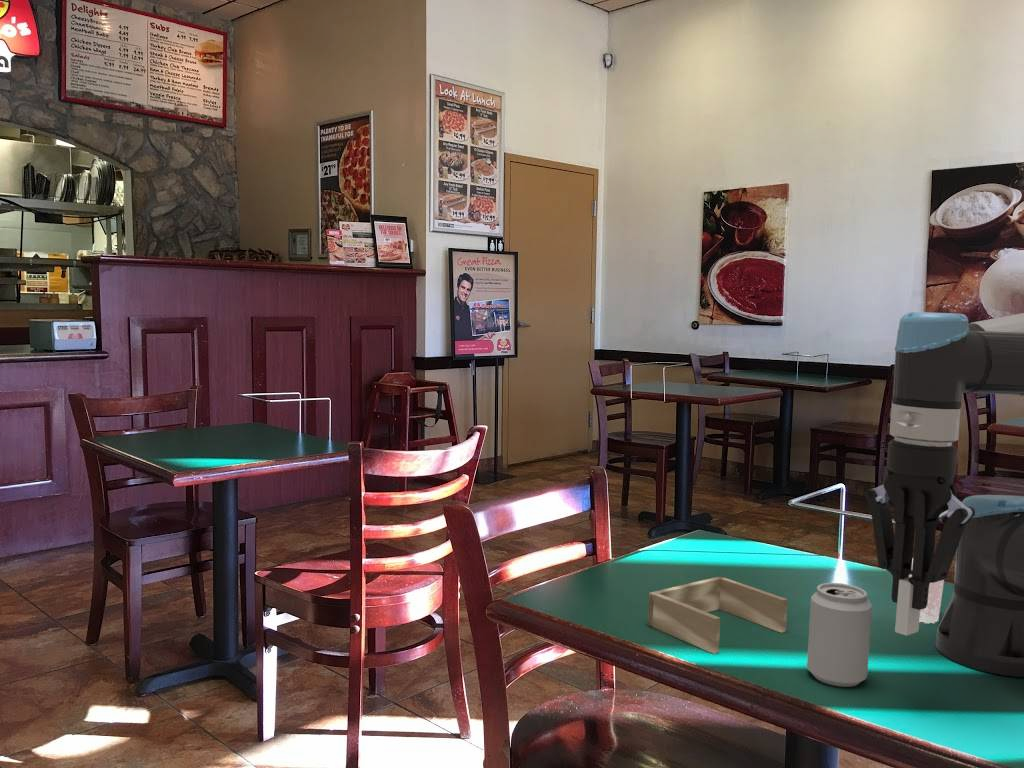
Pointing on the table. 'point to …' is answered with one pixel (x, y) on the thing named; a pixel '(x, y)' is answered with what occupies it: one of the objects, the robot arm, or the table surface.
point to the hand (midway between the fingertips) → (906, 631)
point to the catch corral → (689, 605)
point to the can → (839, 634)
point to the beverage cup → (932, 602)
